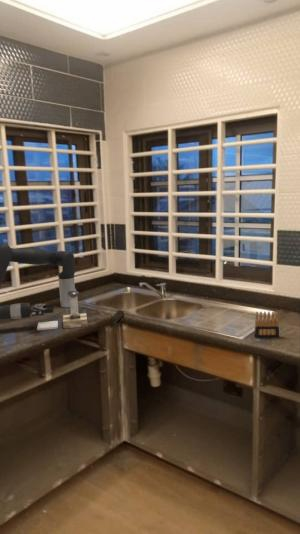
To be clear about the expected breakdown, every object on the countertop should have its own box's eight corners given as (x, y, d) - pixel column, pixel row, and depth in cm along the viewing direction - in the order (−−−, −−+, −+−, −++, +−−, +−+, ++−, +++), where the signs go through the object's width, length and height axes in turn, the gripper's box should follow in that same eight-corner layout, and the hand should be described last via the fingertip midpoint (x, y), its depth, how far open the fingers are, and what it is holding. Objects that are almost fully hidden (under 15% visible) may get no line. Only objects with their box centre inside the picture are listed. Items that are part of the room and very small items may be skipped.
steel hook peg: (75, 321, 218) (73, 290, 215) (83, 322, 215) (81, 291, 212) (67, 324, 213) (64, 293, 210) (75, 326, 210) (73, 294, 207)
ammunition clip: (254, 337, 185) (255, 312, 182) (254, 336, 186) (254, 310, 184) (279, 337, 184) (279, 311, 182) (278, 336, 186) (278, 310, 183)
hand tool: (117, 316, 224) (116, 308, 223) (124, 317, 223) (123, 308, 222) (105, 328, 206) (104, 319, 205) (112, 328, 205) (112, 319, 204)
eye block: (63, 321, 219) (63, 315, 218) (86, 319, 221) (86, 313, 220) (63, 328, 207) (63, 321, 207) (87, 326, 210) (87, 319, 209)
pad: (38, 324, 216) (38, 322, 215) (58, 322, 217) (57, 320, 217) (37, 330, 206) (36, 328, 206) (57, 328, 208) (57, 326, 208)
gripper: (18, 307, 200) (52, 304, 203) (21, 300, 214) (53, 297, 217) (19, 322, 201) (53, 319, 204) (22, 314, 215) (54, 311, 218)
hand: (53, 307), depth 211 cm, fingers open, 8 cm apart
